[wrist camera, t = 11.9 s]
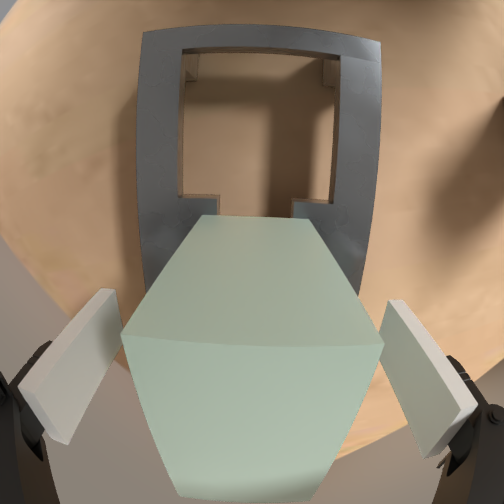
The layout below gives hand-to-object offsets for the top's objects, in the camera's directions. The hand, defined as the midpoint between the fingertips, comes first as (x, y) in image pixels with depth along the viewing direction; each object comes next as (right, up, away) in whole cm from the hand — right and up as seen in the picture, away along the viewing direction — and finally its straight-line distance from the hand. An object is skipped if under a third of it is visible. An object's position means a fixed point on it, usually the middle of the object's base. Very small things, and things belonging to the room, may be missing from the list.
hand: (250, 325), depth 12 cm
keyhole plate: (0, +6, +4) cm, 7 cm away
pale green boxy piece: (0, +2, +6) cm, 6 cm away
